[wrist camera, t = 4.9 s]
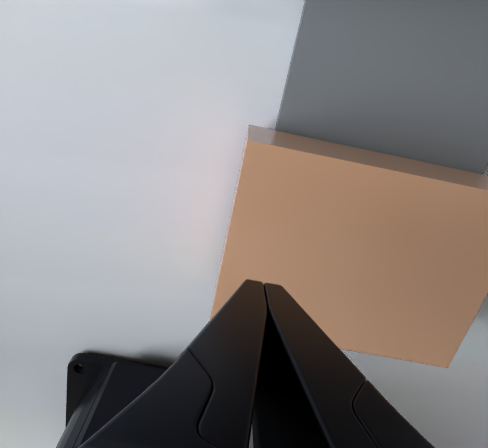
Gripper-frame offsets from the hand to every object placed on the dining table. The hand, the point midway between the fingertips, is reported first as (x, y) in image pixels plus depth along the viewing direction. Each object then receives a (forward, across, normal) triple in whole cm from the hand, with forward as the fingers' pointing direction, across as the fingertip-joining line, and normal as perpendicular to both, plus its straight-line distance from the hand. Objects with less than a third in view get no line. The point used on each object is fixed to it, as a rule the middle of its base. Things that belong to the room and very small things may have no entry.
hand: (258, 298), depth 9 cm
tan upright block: (+4, +1, 0) cm, 4 cm away
